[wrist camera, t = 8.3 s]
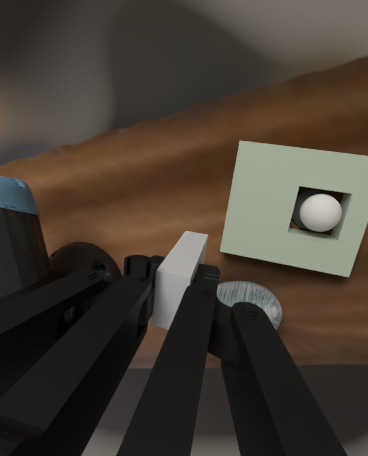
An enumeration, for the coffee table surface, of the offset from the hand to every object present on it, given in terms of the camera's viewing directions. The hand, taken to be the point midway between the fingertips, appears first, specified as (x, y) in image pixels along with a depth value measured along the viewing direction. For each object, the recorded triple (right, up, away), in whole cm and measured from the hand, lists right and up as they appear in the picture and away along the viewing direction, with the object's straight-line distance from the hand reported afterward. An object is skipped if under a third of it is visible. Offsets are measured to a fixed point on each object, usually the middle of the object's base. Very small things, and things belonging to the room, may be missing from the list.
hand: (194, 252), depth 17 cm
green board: (+15, +5, +21) cm, 26 cm away
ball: (+18, +4, +17) cm, 25 cm away
